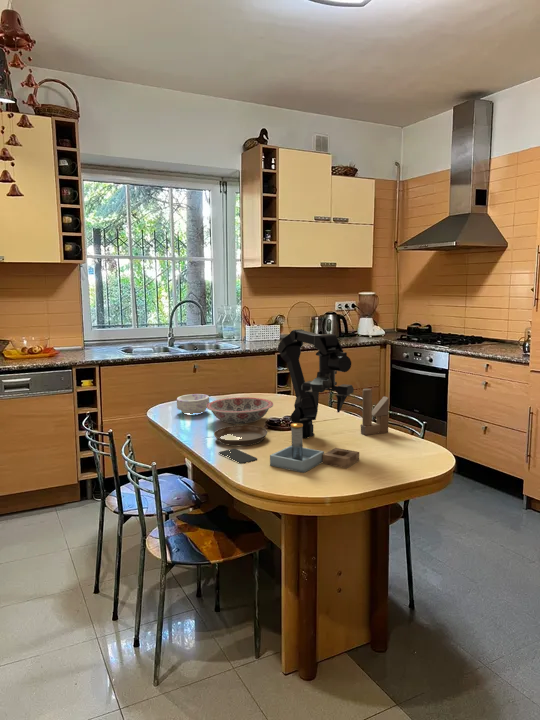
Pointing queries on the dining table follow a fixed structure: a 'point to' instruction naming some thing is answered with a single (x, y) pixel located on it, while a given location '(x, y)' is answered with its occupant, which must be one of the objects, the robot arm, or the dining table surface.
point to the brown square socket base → (340, 457)
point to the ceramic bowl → (239, 409)
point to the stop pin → (297, 441)
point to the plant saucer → (242, 434)
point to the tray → (285, 460)
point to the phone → (238, 455)
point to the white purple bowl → (192, 403)
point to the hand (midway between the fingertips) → (327, 410)
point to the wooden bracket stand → (374, 414)
